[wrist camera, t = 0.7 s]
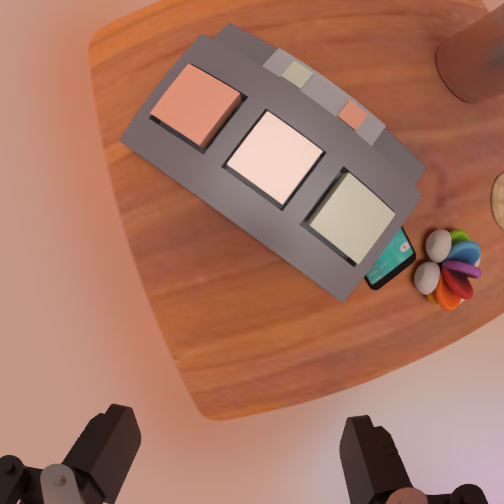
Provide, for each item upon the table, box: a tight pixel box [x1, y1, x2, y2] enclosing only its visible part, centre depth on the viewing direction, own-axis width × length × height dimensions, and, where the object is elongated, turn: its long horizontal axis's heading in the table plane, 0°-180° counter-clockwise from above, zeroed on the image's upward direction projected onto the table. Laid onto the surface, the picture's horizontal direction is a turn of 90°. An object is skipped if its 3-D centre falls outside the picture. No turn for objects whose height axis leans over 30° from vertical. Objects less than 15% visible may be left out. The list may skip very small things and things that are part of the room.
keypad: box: [119, 23, 426, 303], centre depth 27 cm, size 18×28×4 cm, turn 54°
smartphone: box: [364, 226, 416, 290], centre depth 31 cm, size 7×1×15 cm
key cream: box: [227, 111, 323, 205], centre depth 26 cm, size 6×6×2 cm
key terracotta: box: [150, 64, 242, 149], centre depth 25 cm, size 6×6×2 cm
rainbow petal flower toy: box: [414, 229, 481, 311], centre depth 28 cm, size 8×10×7 cm
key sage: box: [306, 173, 395, 265], centre depth 26 cm, size 6×6×2 cm
